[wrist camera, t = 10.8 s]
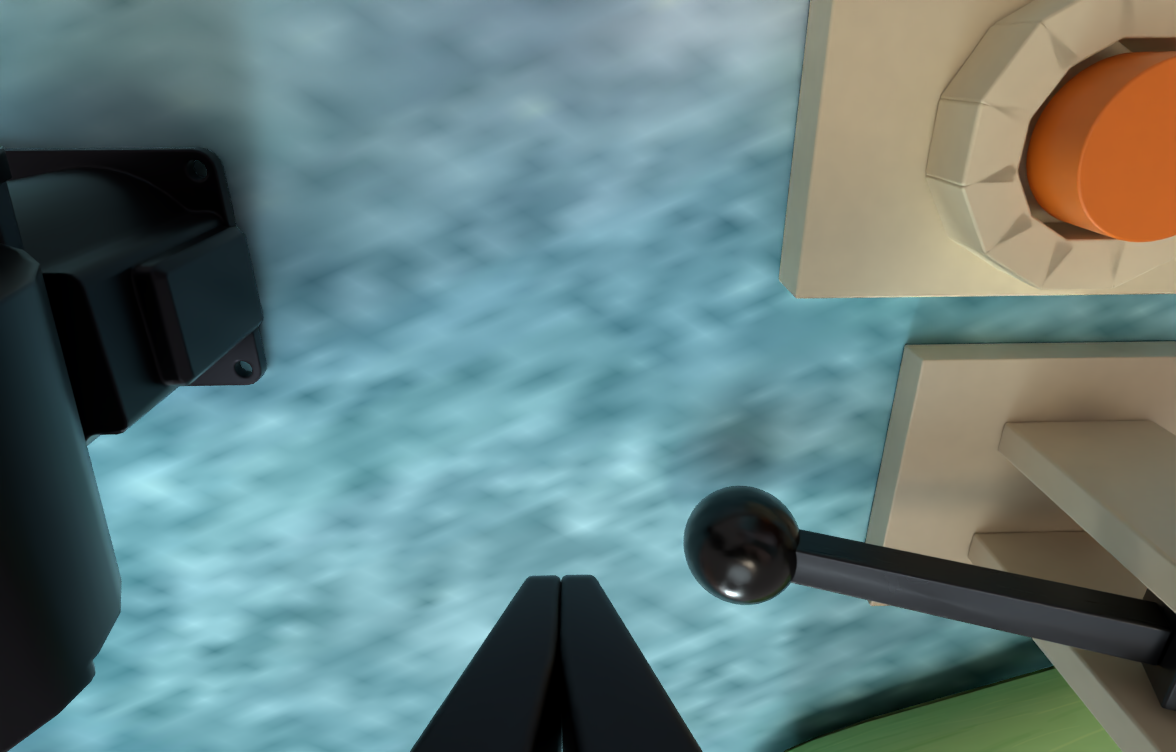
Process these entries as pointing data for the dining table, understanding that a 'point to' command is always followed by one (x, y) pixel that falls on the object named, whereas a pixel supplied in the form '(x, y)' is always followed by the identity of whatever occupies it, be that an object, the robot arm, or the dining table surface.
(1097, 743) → the edible corn
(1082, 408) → the lever stand
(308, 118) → the dining table surface
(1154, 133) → the button
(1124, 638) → the black lever handle
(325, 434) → the dining table surface
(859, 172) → the control block
